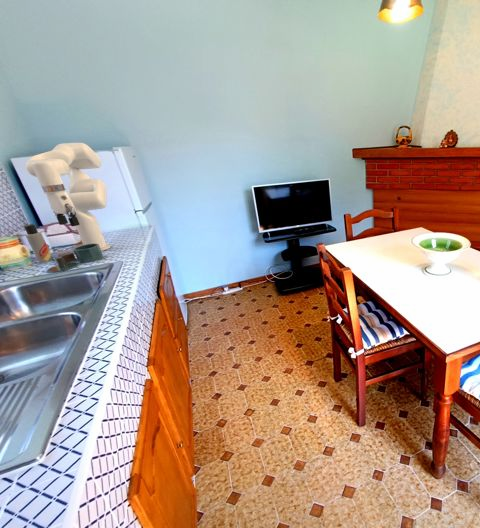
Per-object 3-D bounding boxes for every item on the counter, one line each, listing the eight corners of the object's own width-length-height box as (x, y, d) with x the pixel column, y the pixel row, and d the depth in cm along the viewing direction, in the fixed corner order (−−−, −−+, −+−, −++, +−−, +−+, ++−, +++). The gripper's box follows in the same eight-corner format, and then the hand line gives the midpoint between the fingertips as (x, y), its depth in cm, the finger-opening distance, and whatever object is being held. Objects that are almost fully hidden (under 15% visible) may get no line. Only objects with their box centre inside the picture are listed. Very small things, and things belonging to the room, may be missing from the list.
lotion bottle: (56, 260, 155) (39, 223, 147) (42, 265, 150) (23, 226, 142) (51, 259, 157) (33, 222, 149) (37, 263, 152) (18, 225, 144)
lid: (43, 271, 142) (38, 260, 139) (72, 263, 151) (67, 252, 148) (54, 275, 136) (48, 263, 134) (83, 266, 145) (78, 255, 143)
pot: (75, 262, 151) (69, 248, 148) (98, 255, 159) (92, 242, 156) (84, 265, 146) (78, 251, 144) (107, 258, 155) (102, 244, 152)
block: (62, 263, 151) (58, 254, 149) (72, 259, 155) (69, 251, 153) (66, 264, 149) (62, 256, 147) (76, 261, 153) (73, 253, 151)
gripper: (74, 188, 137) (89, 224, 144) (53, 186, 143) (68, 221, 150) (54, 191, 131) (71, 228, 138) (33, 189, 137) (50, 225, 144)
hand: (69, 224), depth 144 cm, fingers open, 9 cm apart
